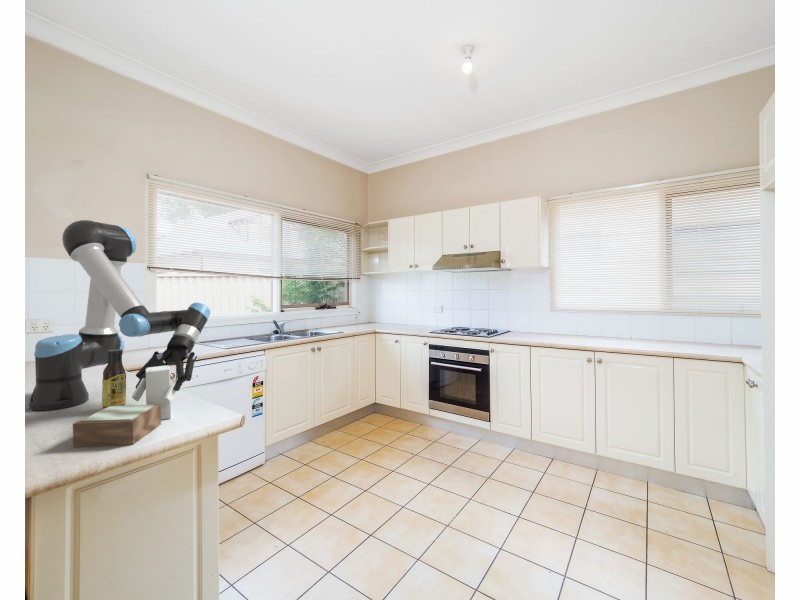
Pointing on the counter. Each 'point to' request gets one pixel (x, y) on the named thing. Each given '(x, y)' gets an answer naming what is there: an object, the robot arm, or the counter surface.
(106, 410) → the riser
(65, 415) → the counter surface
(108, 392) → the sauce bottle
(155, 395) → the skincare box
